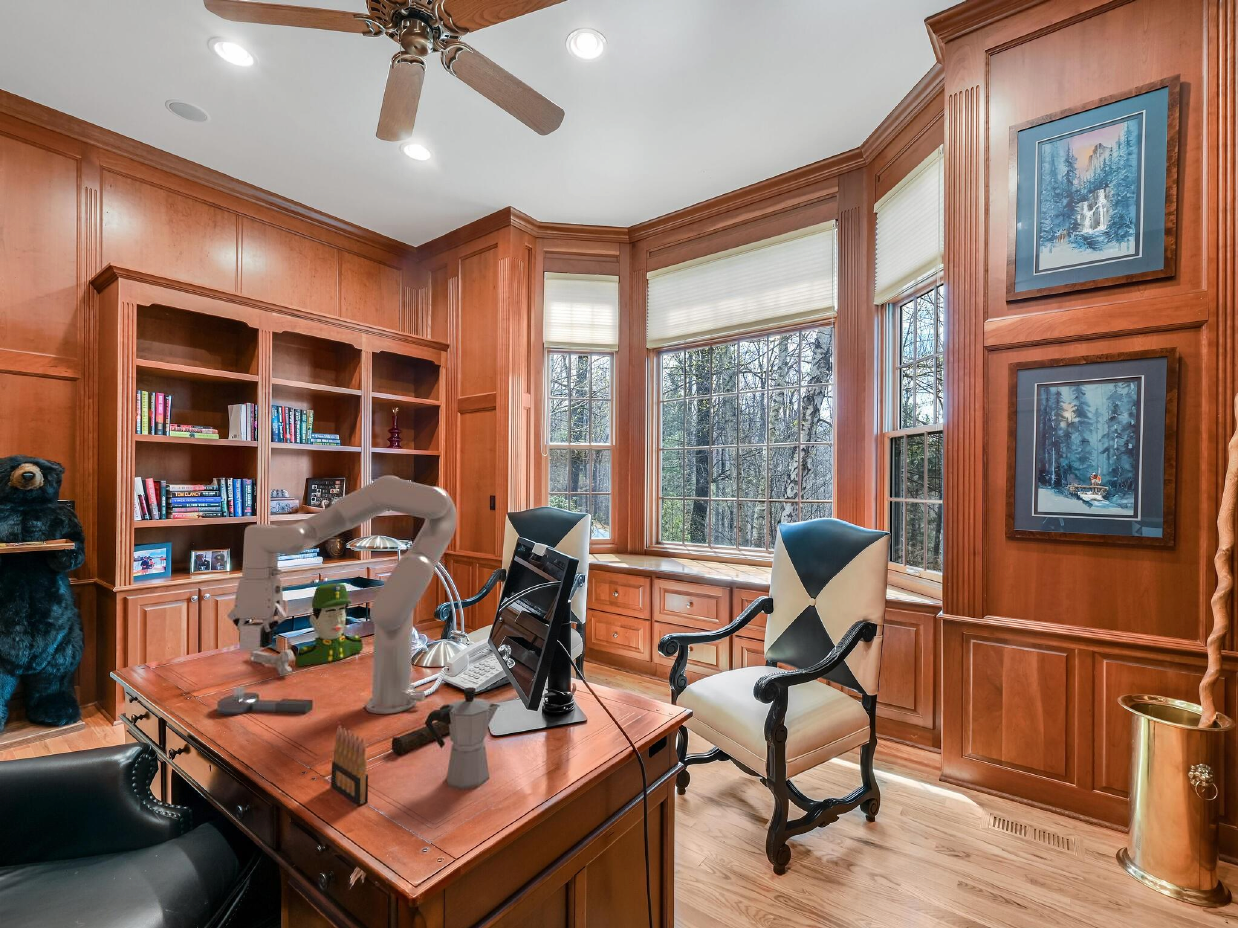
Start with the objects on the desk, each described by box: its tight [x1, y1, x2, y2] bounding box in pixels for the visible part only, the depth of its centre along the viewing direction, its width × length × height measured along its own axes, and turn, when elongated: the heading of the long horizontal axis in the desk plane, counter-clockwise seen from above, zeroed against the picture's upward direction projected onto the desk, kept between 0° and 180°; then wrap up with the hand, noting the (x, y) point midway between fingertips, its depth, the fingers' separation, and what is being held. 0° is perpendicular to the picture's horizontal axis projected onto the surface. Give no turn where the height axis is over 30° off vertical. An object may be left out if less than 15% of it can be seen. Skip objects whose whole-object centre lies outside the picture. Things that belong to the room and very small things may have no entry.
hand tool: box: [391, 721, 450, 757], centre depth 132 cm, size 19×4×5 cm, turn 142°
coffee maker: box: [424, 686, 501, 790], centre depth 115 cm, size 15×9×18 cm, turn 112°
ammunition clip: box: [330, 724, 369, 807], centre depth 109 cm, size 11×2×12 cm, turn 52°
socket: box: [238, 620, 272, 652], centre depth 144 cm, size 5×5×6 cm
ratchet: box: [216, 685, 314, 717], centre depth 148 cm, size 24×9×6 cm, turn 87°
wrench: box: [249, 649, 296, 677], centre depth 179 cm, size 8×2×30 cm
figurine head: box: [294, 583, 364, 667], centre depth 189 cm, size 22×12×25 cm, turn 143°
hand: (255, 644), depth 144 cm, fingers closed on socket, 5 cm apart
